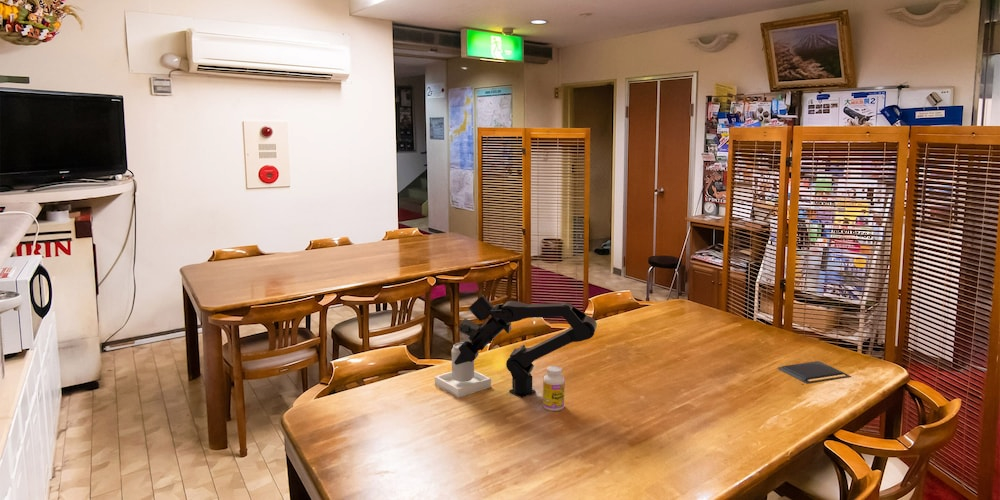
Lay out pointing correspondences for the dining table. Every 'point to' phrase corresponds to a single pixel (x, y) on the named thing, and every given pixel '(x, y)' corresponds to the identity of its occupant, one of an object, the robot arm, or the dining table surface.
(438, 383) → the tray
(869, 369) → the dining table surface
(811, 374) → the dark grey book
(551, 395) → the supplement bottle
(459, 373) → the can
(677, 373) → the dining table surface
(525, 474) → the dining table surface
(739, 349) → the dining table surface
